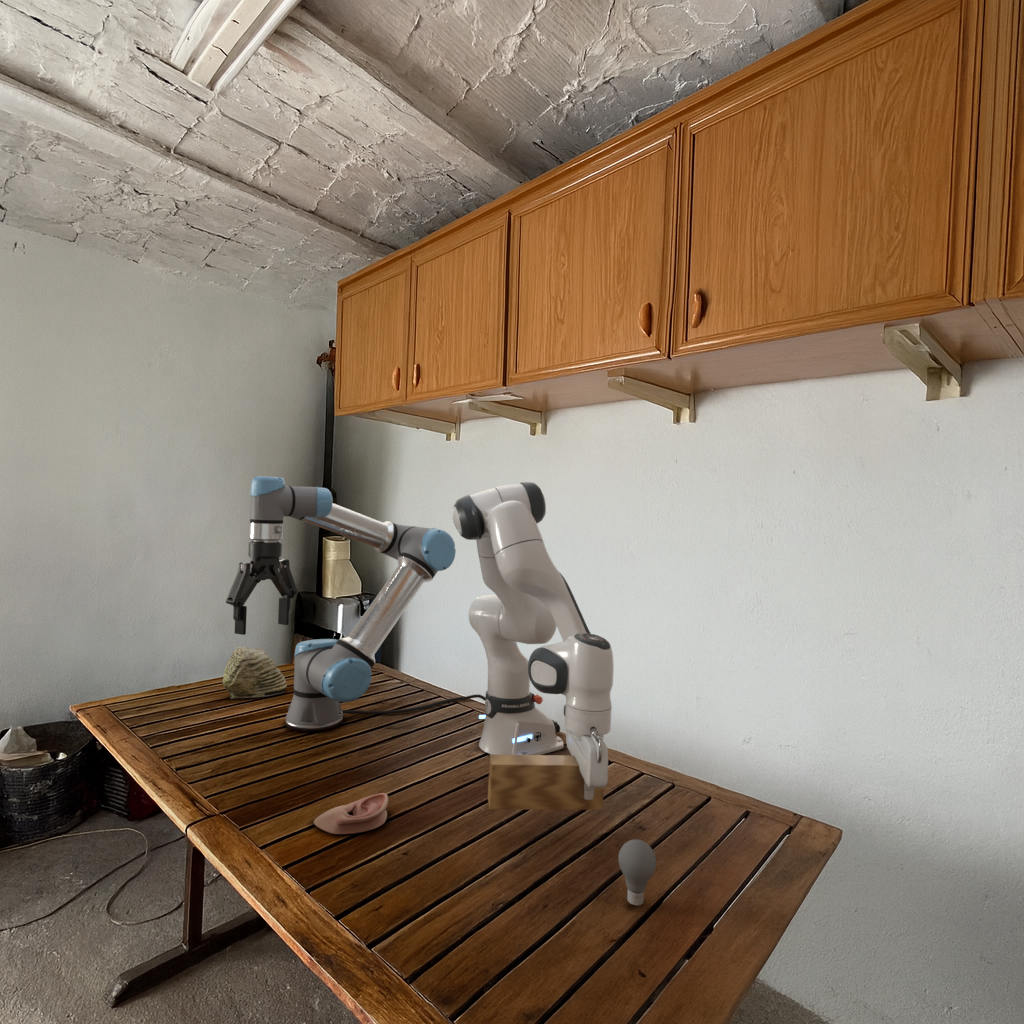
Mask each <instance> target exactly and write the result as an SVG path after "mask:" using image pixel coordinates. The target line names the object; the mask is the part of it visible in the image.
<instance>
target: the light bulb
mask: <svg viewBox="0 0 1024 1024" xmlns="http://www.w3.org/2000/svg"><path fill="white" fill-rule="evenodd" d="M618 865H619V868H620V871H621V872H622V874H623V876H624V880H625V885H626V888H627V897H626V899H627V902H628V903H629V904H630V905H633V906H641V905H643V904H644V898H645V897H644V896H645V891H646V889H647V886H648V885H647V884H648V882H649V880H650V879H651V877H652V876H653V875H654V874H655V871H656V867H657V858H656V853H655V852H654V850H653V848H652V847H651V846H650V845H649V844H648V843H647V842H646V841H644V840H641V839H634V838H633V839H630V840H627V841H626V842H625V843H623V845H622V846H621V848H620V850H619V852H618Z"/></svg>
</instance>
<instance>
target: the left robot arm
mask: <svg viewBox="0 0 1024 1024" xmlns="http://www.w3.org/2000/svg"><path fill="white" fill-rule="evenodd" d="M250 484H251V485H250V491H249V492H250V494H249V497H250V499H249V528H248V529H249V530H248V539H249V540H251V541H249V542H248V557H249V558H250V560H249V561H250V562H239V563H238V566H237V567H238V568H237V573H236V576H235V578H234V580H233V583H232V585H231V587H230V590H229V592H228V594H227V597H226V599H225V603H226V604H227V605H230V606H233V607H232V608H233V613H232V614H233V615H232V619H233V620H234V634H235V635H242V636H244V635H246V634H247V615H248V614H247V609H248V606H247V605H245V604H246V602H247V600H248V599H249V597H250V596H251V594H252V593H253V591H254V590H255V588H256V586H257V585H258V584H260V582H261V581H266V580H270V581H271V582H272V584H273V585H274V587H275V588H276V590H277V591H278V593H279V594H280V596H281V597H279V598H278V618H277V625H282V626H288V625H290V624H289V622H290V611H291V605H292V603H291V601H292V599H295V597H296V596H297V595H298V588H297V585H296V583H295V579H294V577H293V574H292V570H291V567H290V566H291V565H290V559H286V558H281V557H282V556H283V543H282V540H283V531H284V530H283V529H284V518H285V517H290V518H293V519H295V520H299V521H301V522H304V523H307V524H310V525H312V526H316V527H318V528H321V529H324V530H327V531H330V532H332V533H335V534H337V535H340V536H343V537H345V538H348V539H351V540H354V541H357V542H360V543H363V544H365V545H369V546H371V547H373V548H374V550H375V551H376V552H378V553H380V554H383V555H386V556H388V557H390V558H392V559H394V560H397V563H398V565H397V566H396V569H395V570H394V572H393V573H392V574H391V576H390V577H389V578H388V579H387V581H386V583H385V584H384V585H383V587H382V588H381V590H380V591H379V592H378V594H377V595H376V597H375V598H374V599H373V601H372V602H371V603H370V605H369V606H368V607H367V609H366V611H365V612H364V614H362V616H361V617H360V618H359V621H358V622H357V623H356V625H354V627H353V628H352V630H351V632H350V633H349V634H348V636H345V637H341V638H339V639H336V638H319V639H308V640H303V641H300V642H297V644H296V645H295V650H294V655H293V656H294V672H293V695H292V696H293V697H292V699H291V702H290V704H289V705H288V706H287V708H286V710H288V711H287V713H286V715H285V726H286V728H287V729H289V730H291V731H294V732H295V731H296V732H301V733H316V732H325V731H329V730H332V729H335V728H337V727H339V726H340V725H342V723H343V722H344V715H345V714H346V715H347V714H348V715H393V714H394V715H395V714H403V713H404V714H405V713H410V712H415V711H421V710H426V709H430V708H433V707H435V706H438V705H443V704H448V703H453V702H458V701H465V700H471V699H476V698H479V699H481V700H483V701H485V697H486V696H484V695H483V694H471V695H467V696H459V697H452V698H448V699H444V700H438V701H435V702H432V703H428V704H425V705H424V704H423V705H420V706H415V707H410V708H401V709H393V710H391V709H390V710H360V709H359V710H353V709H342V706H341V703H350V702H353V701H356V700H358V699H359V698H361V697H362V696H363V695H364V694H365V693H366V692H367V691H368V690H369V687H370V685H371V683H372V679H373V678H372V675H373V673H372V672H373V671H372V669H373V667H374V666H375V664H376V657H375V655H376V653H377V651H378V650H379V649H380V647H381V646H382V644H383V643H384V641H385V640H386V638H387V637H388V635H389V634H390V632H391V631H392V629H393V628H394V627H395V625H397V623H398V621H399V619H400V618H401V617H402V615H403V614H404V612H405V611H406V609H407V608H408V607H409V604H411V602H412V601H413V599H414V597H416V595H417V594H418V592H419V590H420V589H421V587H422V586H423V584H425V583H429V582H431V581H433V579H434V578H435V576H436V575H437V573H438V572H443V571H445V570H448V569H449V568H450V567H451V566H452V564H453V563H454V560H455V557H456V543H455V541H454V539H453V537H452V536H451V534H450V533H449V532H447V531H446V530H444V529H441V528H440V529H439V528H437V527H424V526H415V525H404V524H398V523H396V522H392V521H389V520H388V521H384V522H383V521H380V520H377V519H375V518H372V517H370V516H368V515H364V514H363V513H359V512H356V511H354V510H352V509H349V508H346V507H343V506H341V505H339V504H336V503H333V501H334V500H333V495H332V492H331V491H330V490H329V489H328V488H327V487H320V486H298V485H297V486H294V485H286V482H285V478H283V477H280V476H263V475H261V476H258V475H256V476H254V477H253V478H252V480H251V483H250Z"/></svg>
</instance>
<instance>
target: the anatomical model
mask: <svg viewBox="0 0 1024 1024" xmlns="http://www.w3.org/2000/svg"><path fill="white" fill-rule="evenodd" d="M388 805H389V795H388V793H386V792H379V793H375V794H371V795H369V796H366V797H363V798H360V799H358V800H355V801H352V802H350V803H347V804H344V805H343V804H342V805H339V806H335V807H333V808H330V809H328V810H326V811H325V812H322V813H321V814H320V815H318V816H317V817H316V818H315V819H314V820H313V824H314V825H315V826H316V827H317V828H319V829H320V830H322V831H324V832H327V833H328V834H333V835H349V834H357V833H363V832H368V831H372V830H375V829H377V828H379V827H381V826H382V825H384V824H385V823H386V821H387V818H388V812H387V811H388V810H386V809H387V808H388Z"/></svg>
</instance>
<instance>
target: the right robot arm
mask: <svg viewBox="0 0 1024 1024" xmlns="http://www.w3.org/2000/svg"><path fill="white" fill-rule="evenodd" d="M546 508H547V503H546V498H545V495H544V493H543V492H542V489H541V488H540V486H539V485H537V483H535V482H533V481H532V482H531V481H522V482H520V483H513V484H505V485H500V486H494V488H490V489H486V490H481V491H480V492H479V491H478V492H476V493H473V494H471V495H469V494H467V495H464V496H462V497H459V498H458V499H457V500H456V501H455V503H454V504H453V512H452V520H453V521H452V522H453V524H454V528H455V529H456V530H457V532H458V533H459V536H460V537H462V538H463V539H465V540H467V541H469V540H470V541H476V549H477V556H478V560H479V565H480V566H479V567H480V571H481V577H482V581H483V583H484V585H485V586H486V587H487V588H488V589H489V590H491V592H493V593H494V594H487V595H480V596H478V597H476V598H474V600H473V601H472V603H471V604H470V607H469V609H468V622H469V624H470V627H471V628H472V629H473V630H474V631H475V633H476V634H477V636H478V637H479V639H480V642H481V644H482V646H483V650H484V652H485V656H486V661H487V689H486V691H485V696H484V697H485V700H484V714H479V715H478V719H480V720H482V719H484V722H483V728H482V733H481V736H480V739H479V743H478V747H479V749H480V750H481V751H482V752H485V753H486V754H488V755H491V754H494V755H546V754H549V753H552V752H556V751H559V750H563V749H564V748H565V742H566V747H567V750H568V751H569V753H570V756H574V757H575V758H576V760H577V762H578V764H579V770H580V773H581V774H582V776H583V778H584V782H585V783H584V787H583V796H584V799H586V800H592V799H593V797H594V789H595V788H604V789H605V788H606V787H607V786H608V782H609V751H608V750H609V749H608V746H607V744H606V742H605V741H604V736H605V735H608V734H609V733H610V732H611V730H612V729H611V727H612V726H611V724H612V710H613V708H612V707H613V703H612V698H611V692H612V689H613V685H614V673H615V672H614V669H615V668H614V666H615V665H614V652H613V648H612V645H611V643H610V642H609V641H608V640H607V639H606V638H604V637H602V636H600V635H598V634H594V633H591V631H590V629H589V628H588V625H587V623H586V621H585V618H584V617H583V613H582V612H581V610H580V607H579V605H578V603H577V600H576V598H575V596H574V594H573V591H572V590H571V588H570V586H569V583H568V581H567V580H566V578H565V577H564V575H563V574H562V573H561V572H560V571H559V569H558V567H556V565H555V564H554V562H553V560H552V558H551V556H550V554H549V552H548V551H547V547H546V545H545V541H544V539H543V536H542V533H541V531H540V529H539V525H538V524H539V523H540V522H542V521H543V519H544V518H545V517H546V513H547V512H546V511H547V509H546ZM557 630H558V632H559V634H560V637H561V640H562V641H559V642H557V643H551V644H547V643H549V642H550V641H551V640H552V638H553V637H554V635H555V634H556V632H557ZM518 643H520V644H525V645H542V646H539V647H537V648H535V649H534V650H533V651H532V652H531V654H530V656H529V658H527V657H526V656H525V655H524V654H523V653H522V652H521V649H520V648H519V646H518ZM545 644H546V645H545ZM531 685H532V686H533V687H534V689H536V690H537V691H538V692H540V693H542V694H548V695H563V696H564V697H565V704H564V705H563V716H564V728H565V742H564V740H563V739H562V738H561V737H560V736H558V734H559V733H560V732H561V727H560V725H559V723H558V721H555V719H551V718H550V717H549V716H548V715H547V714H546V713H544V712H543V711H542V710H540V708H538V707H537V706H536V704H537V705H541V704H542V703H543V701H544V699H543V697H542V696H541V695H539V694H534V693H533V692H531V690H530V689H531Z"/></svg>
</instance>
